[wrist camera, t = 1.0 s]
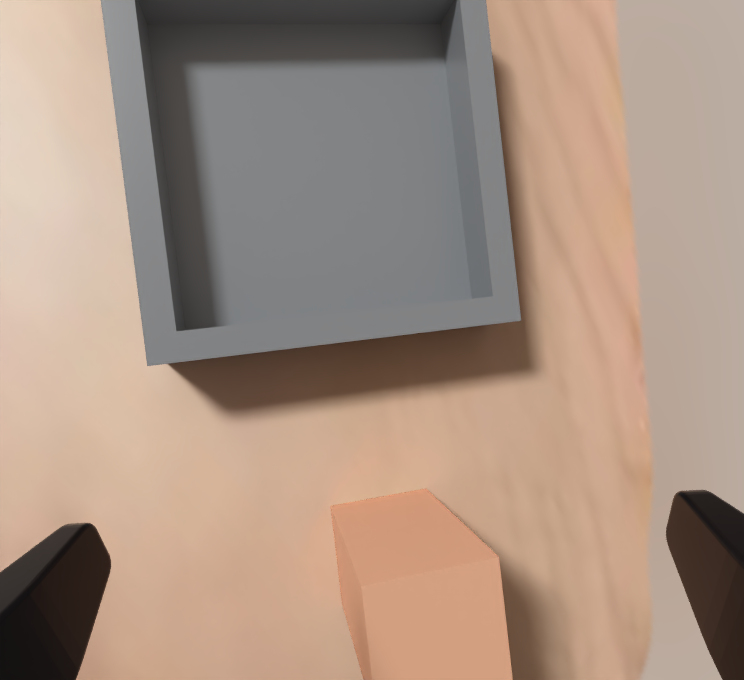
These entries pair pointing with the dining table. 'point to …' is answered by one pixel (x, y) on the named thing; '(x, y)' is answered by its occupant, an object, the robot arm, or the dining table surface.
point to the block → (419, 591)
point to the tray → (309, 171)
